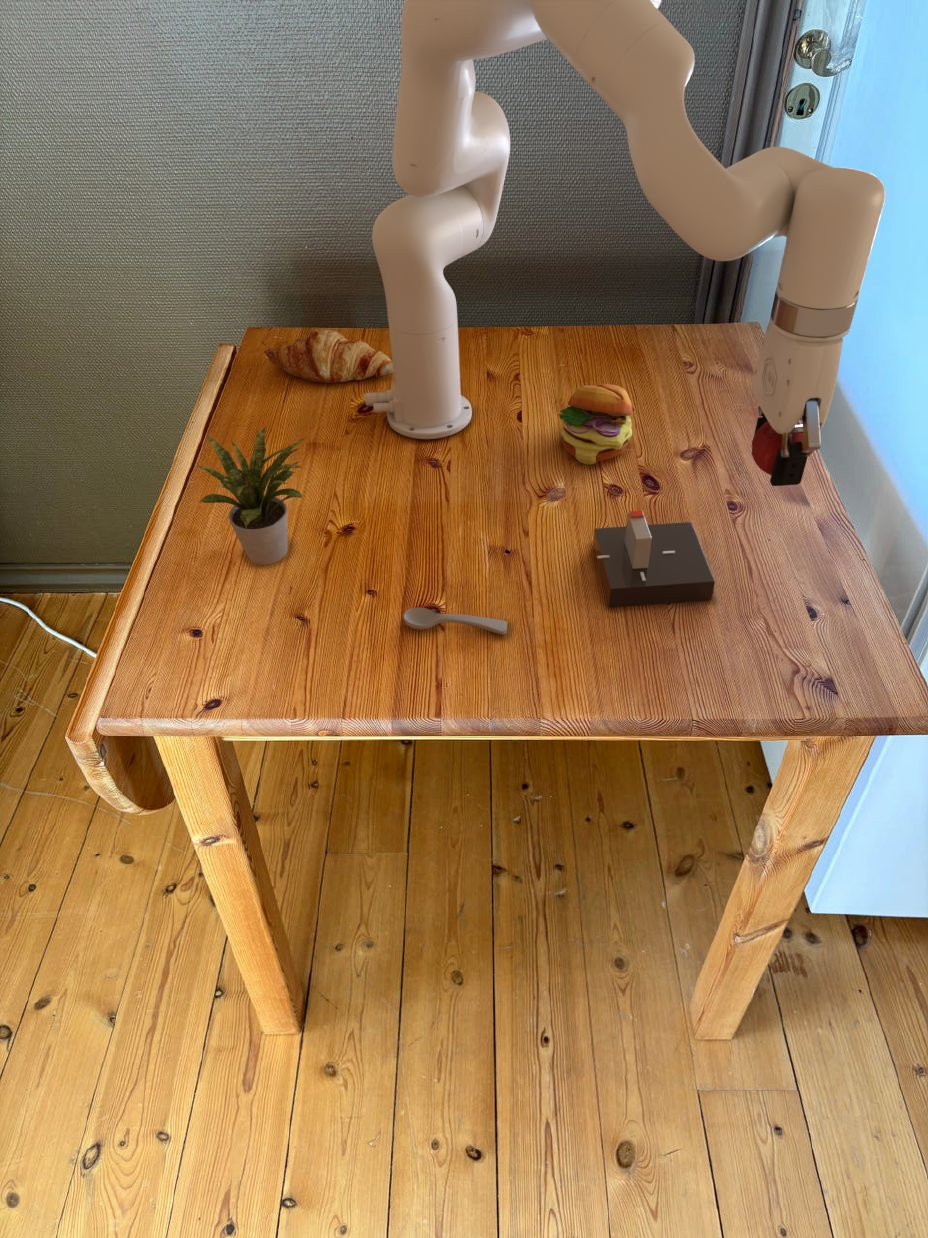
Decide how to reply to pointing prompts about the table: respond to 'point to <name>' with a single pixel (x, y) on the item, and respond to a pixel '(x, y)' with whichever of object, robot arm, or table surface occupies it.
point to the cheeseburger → (597, 423)
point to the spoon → (451, 620)
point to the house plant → (256, 499)
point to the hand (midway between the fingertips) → (775, 464)
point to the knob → (638, 539)
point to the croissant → (330, 358)
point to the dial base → (654, 567)
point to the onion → (769, 446)
